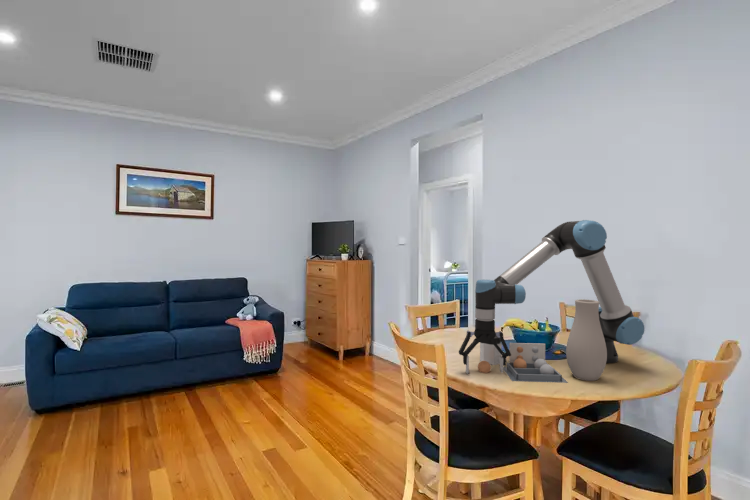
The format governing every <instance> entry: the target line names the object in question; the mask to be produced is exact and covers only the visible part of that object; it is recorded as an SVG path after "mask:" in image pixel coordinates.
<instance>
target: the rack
mask: <svg viewBox="0 0 750 500" xmlns="http://www.w3.org/2000/svg"><path fill="white" fill-rule="evenodd" d="M508 344H509V345H508V346H509V347H508V349H509V351H510V353H511V356H508V359H509V360H508V362H506V366H503V372H504V373H505V374H506V376H508V378H509V379H510V381H512V382H524V383H525V382H527V383H528V382H529V383H560V384H561V383H562V384H565V383H566V384H567V383H568V384H569V381H568V380H566V379H565V378H564V377H563V375H562V374H561V373H560V372H558V371H557V370H556V369H555V368H554V367H553V369H554V375H542V374H541V373H540V369H535V367H534V363H535V361H536V360H537V359H543V360H545V361H546V343H539V342H538V343H536V342H535V343H534V342H527V343H525V342H509V343H508ZM518 358H521V359H523V360H525V362H526V364H527V367H526V368H514V366H513V363H514V361H515V360H516V359H518ZM547 364H548V365H550V364H549V363H547Z"/></svg>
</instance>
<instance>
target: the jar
mask: <svg viewBox="0 0 750 500" xmlns="http://www.w3.org/2000/svg"><path fill="white" fill-rule="evenodd" d="M493 340H494V341H495V342H496V344H497V345H498V346H499V347H500V349H501V350H502V347H503V345H502V343H501V341H500V338H498V337H497V335H496V336H495V337H494V339H493ZM502 351H503V350H502ZM500 356H502V355H501V354H500V352H499V351H498V350H497V349H496V347H495V346H494V345H493V344H492V342H490V343H480V342H479V362H481V361H487V362H489V364H490V365H491V366H497V365H500Z"/></svg>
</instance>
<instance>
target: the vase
mask: <svg viewBox="0 0 750 500" xmlns="http://www.w3.org/2000/svg"><path fill="white" fill-rule="evenodd" d="M574 305H575V306H574V307H575V311H574V312H575V313H574V317H573V322H572V326H571V329H570V331H569V334H568V338H567V341H566V346H565V348H566V349H565V355H566V361H567V365H568V367H569V371H570V372H571V374H572V375H573V377H575V378H576V379H579V380H581V381H587V382H588V381H589V382H591V381H592V382H593V381H594V382H595V381H598V380H599V379H600V378H601V376H602V375H603V373H604V370H605V368H606V366H607V363H606V361H607V348H606V343H605V339H604V336H603V332H602V329H601V325H600V321H599V307H600V304H599V301H598V300H594V299H585V298H584V299H575V300H574Z"/></svg>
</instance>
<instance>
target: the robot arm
mask: <svg viewBox="0 0 750 500" xmlns="http://www.w3.org/2000/svg"><path fill="white" fill-rule="evenodd" d="M607 237H608V236H607V231H606V229H605V227H604V226H603V225H602V224H601V223H600V222H597V221H595V220H589V219H583V220H576V221H575V220H574V221H566V222H563V223H561V224H559V225H558V226H556V227H555V228H553V229H552V230H550V232H548V233H547V234H545V235H544V236H543V237H542V238H541V241H540V242H539V244H537V245H535V247H533V248H532V249H531V250H530V251H528V252H527V253H526V254H525V255H523V256H522V257H521V258H520V259H519V260H517V261H516V262H515V263H513V264H512V265H511V266H510V267H508V268H507V269H506V270H505V271H504V272H503V273H501V274H499V276H497V277H496V278H494V279H478V280H476V283H475V290H474V294H475V314H474V315H475V316H474V317H475V319H474V323H475V324H474V331H471V330H467V331H466V334H465V335H466V336H465V338H464V339H463V342H462V343H461V345H460V347H459V350H458V354H459V355H460V356H462V362H463V365H464V366H465V373H466V374H469V372H470V367H469V366H470V357H469V354H470V353H471V352H472V351H473V349H474V348H475V347H476V346H477V345H478V344H480V343H490V342H492V344H493V345H494V346H495V347H496V349H497V350H498V351H499V352H500V354H501V355H502V356H500V364H499V372H500V373H502V374H503V373H504V370H503V367H506V366H507V358H509V356H511V353H510V351H509V347H508V344H507V343H506V340H505V338H504V333H503V332H502V331H500V330H499V331H497V332H496V329H495V328H496V321H495V319H496V305H517V304H523V303H524V302H525V300H526V294H527V293H526V290H525V287H524V286H523V285H521V284H520V283H521V282H522V281H524V280H525V279H526V278H527V277H529V276H530V275H531V274H532V273H533V272H535V271H536V270H537V269H539V268H540V267H541V266H542V265H543V264H545V262H547V261H548V260H550V259H551V258H552V257H553V256H559V255H560V253H563V252H565V251H568V250H572V252H573V254H574V257H575V258H576V259H579V260H581V263H582V265H583V267H584V271H585V272H586V275H587V277H588V280H589V283H590V285H591V287H592V290H593V292H594V294H595V296H596V297H595V298H596V299H597V301H599V321H600V325H601V329H602V332H603V336H604V339H605V343H606V348H607V361H606V364H613V363H617V362H618V361H619V354H618V351H617V349H616V345H615V342H617V343H619V344H622V345H624V344H625V345H630V346H631V345H634V344H635V345H636V344H637V343H638V342H639V341H640V340H641V339H642V338H643V335H644V334H645V325H644V322H643V321H642V319H640V318H639V317H638V316H635V315H634V313H633V311H632V308H631V307H630V306H628V305H627V304H625V302H624V300H623V297H622V295H621V293H620V290H619V287H618V284H617V282H616V280H615V277H614V275H613V273H612V270H611V268H610V266H609V264H608V261H607V258H606V256H605V254H604V252H605V250H606V245H605V244H606V243H607ZM496 335H497V337H498V338H500V341H501V343H502V347H503V349H504V351H505V352H504V351H503V350H501V349H500V347H499V346H498V345H497V344H496V342H495V341H494V340H493V339H494V337H495V336H496ZM473 336H474V337H475V338H474V339H473V341H472V342H471V343H470V344H469V346H468V343H469V342H470V340H471V338H472V337H473ZM467 346H468V347H467Z"/></svg>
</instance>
